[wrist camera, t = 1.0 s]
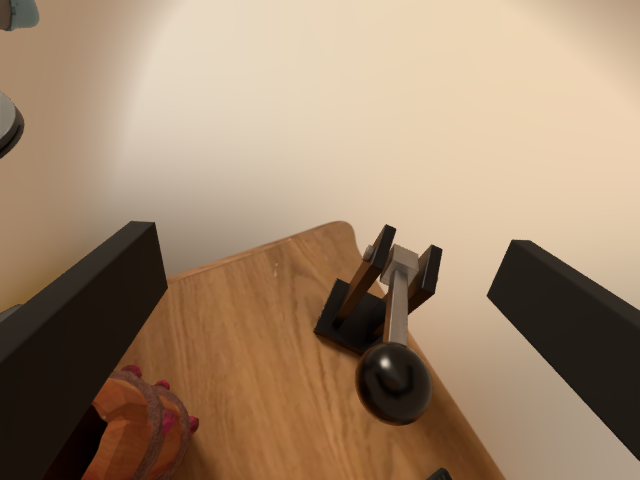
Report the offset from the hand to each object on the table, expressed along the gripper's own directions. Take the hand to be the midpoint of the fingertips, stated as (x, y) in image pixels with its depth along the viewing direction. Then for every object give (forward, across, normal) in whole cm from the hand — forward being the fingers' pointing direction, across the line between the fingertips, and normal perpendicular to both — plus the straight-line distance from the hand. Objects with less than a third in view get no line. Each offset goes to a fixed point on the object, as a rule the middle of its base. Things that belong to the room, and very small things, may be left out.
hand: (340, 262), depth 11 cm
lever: (+5, +5, -8) cm, 10 cm away
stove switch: (+16, +6, -18) cm, 25 cm away
